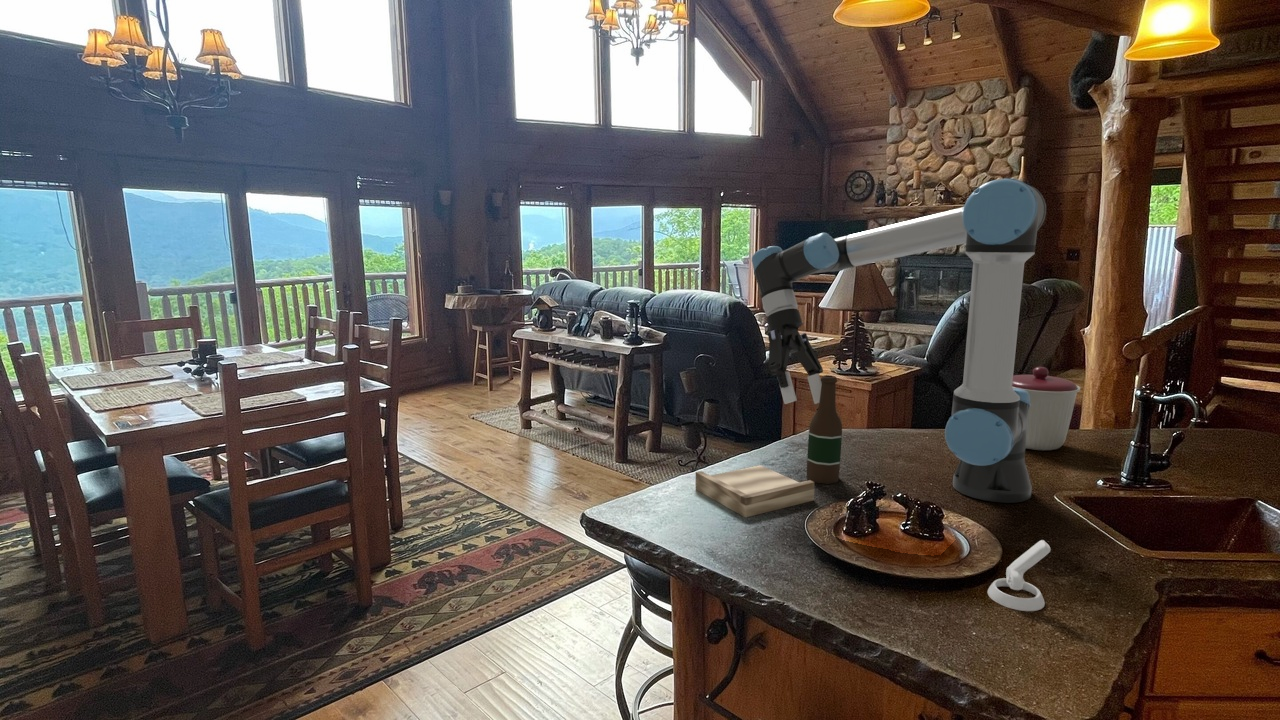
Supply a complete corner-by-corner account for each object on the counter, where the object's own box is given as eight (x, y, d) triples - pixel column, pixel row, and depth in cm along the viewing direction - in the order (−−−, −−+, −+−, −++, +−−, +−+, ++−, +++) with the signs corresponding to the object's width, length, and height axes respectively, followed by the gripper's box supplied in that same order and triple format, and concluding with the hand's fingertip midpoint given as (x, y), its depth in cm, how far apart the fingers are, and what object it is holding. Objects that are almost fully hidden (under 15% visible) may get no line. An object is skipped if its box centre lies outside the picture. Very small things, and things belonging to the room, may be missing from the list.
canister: (981, 442, 181) (987, 365, 178) (1017, 432, 191) (1024, 358, 187) (1052, 460, 166) (1060, 376, 163) (1087, 447, 176) (1096, 368, 173)
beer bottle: (800, 473, 159) (806, 373, 155) (832, 472, 160) (839, 373, 156) (811, 484, 151) (818, 379, 147) (845, 484, 152) (852, 379, 148)
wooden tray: (813, 500, 143) (814, 482, 142) (745, 517, 134) (745, 498, 133) (759, 475, 158) (760, 458, 157) (695, 489, 150) (695, 472, 149)
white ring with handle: (1092, 588, 95) (1051, 561, 95) (1027, 635, 101) (989, 609, 101) (1074, 555, 102) (1036, 529, 102) (1015, 600, 108) (978, 576, 108)
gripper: (794, 323, 166) (817, 406, 161) (738, 313, 148) (761, 407, 143) (821, 312, 162) (846, 397, 157) (767, 300, 143) (792, 397, 138)
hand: (806, 402), depth 150 cm, fingers open, 13 cm apart
